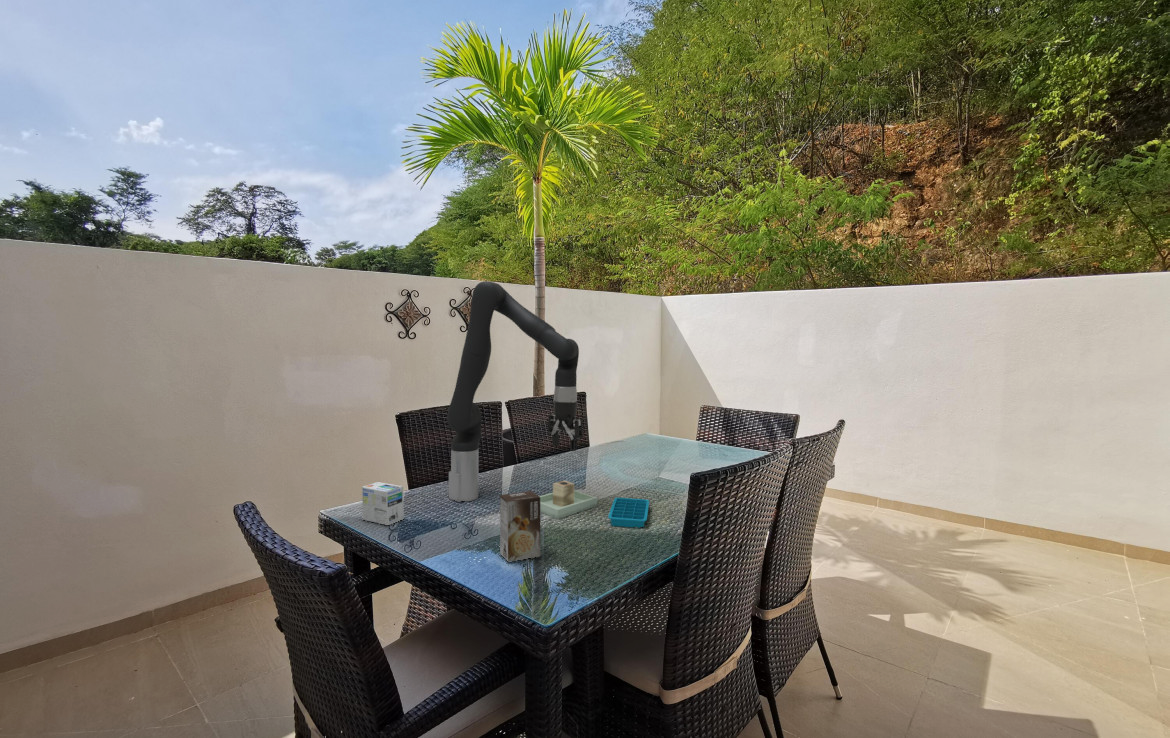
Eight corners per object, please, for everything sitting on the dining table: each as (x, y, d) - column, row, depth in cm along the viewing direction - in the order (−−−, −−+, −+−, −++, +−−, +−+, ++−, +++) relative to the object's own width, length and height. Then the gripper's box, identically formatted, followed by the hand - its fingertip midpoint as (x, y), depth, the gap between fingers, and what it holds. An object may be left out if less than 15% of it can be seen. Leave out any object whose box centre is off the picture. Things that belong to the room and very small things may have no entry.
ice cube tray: (649, 508, 177) (649, 499, 177) (646, 530, 157) (646, 520, 157) (614, 505, 179) (614, 497, 179) (607, 527, 159) (607, 517, 159)
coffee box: (531, 548, 143) (532, 489, 141) (541, 557, 137) (541, 496, 136) (499, 554, 138) (499, 494, 137) (507, 564, 133) (507, 501, 131)
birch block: (563, 507, 172) (563, 486, 172) (552, 503, 176) (553, 482, 175) (574, 504, 176) (574, 483, 175) (563, 500, 179) (564, 480, 179)
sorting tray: (557, 519, 164) (557, 509, 164) (529, 507, 174) (529, 499, 174) (597, 506, 177) (597, 497, 177) (568, 496, 187) (568, 488, 187)
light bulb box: (404, 520, 162) (404, 485, 161) (388, 527, 156) (387, 491, 155) (378, 514, 166) (378, 480, 165) (361, 521, 160) (361, 486, 159)
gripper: (542, 398, 175) (541, 446, 177) (572, 403, 165) (571, 454, 167) (559, 396, 181) (558, 443, 182) (588, 401, 171) (587, 450, 172)
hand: (564, 448), depth 174 cm, fingers open, 8 cm apart
